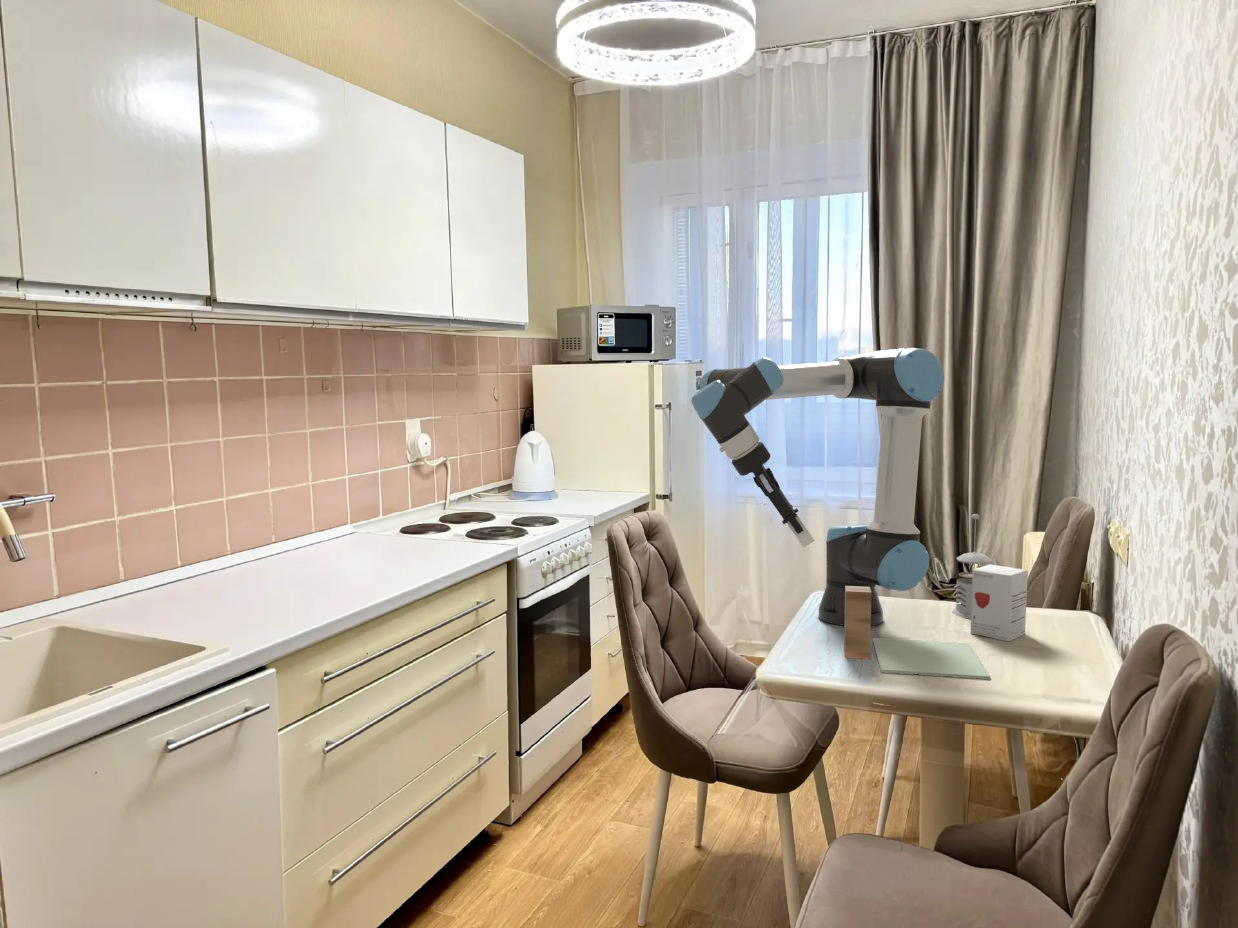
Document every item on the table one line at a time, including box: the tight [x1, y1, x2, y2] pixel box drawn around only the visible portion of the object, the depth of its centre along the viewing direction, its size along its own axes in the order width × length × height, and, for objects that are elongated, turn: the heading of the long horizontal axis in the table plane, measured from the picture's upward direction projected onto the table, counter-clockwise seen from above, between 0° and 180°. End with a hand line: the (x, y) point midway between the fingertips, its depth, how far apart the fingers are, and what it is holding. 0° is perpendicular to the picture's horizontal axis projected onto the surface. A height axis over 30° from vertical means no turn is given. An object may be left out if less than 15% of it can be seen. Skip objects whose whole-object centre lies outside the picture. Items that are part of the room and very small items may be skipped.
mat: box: [872, 637, 992, 680], centre depth 173 cm, size 22×20×1 cm
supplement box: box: [970, 563, 1029, 642], centre depth 190 cm, size 9×9×15 cm
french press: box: [951, 513, 993, 619], centre depth 206 cm, size 10×12×25 cm
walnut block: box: [843, 586, 872, 660], centre depth 175 cm, size 5×5×14 cm
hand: (808, 543), depth 174 cm, fingers closed
